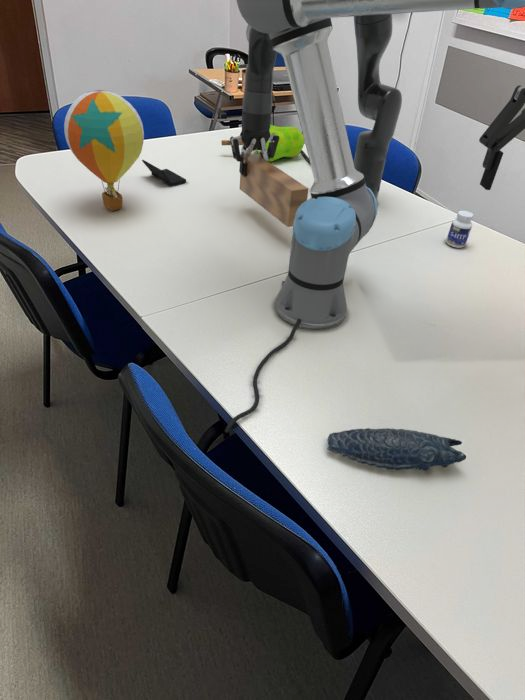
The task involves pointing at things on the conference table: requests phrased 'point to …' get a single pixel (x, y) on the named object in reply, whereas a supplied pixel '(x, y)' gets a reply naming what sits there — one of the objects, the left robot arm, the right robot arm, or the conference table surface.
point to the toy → (105, 138)
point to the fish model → (395, 448)
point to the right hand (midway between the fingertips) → (252, 174)
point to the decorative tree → (283, 142)
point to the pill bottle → (460, 229)
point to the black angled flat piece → (165, 175)
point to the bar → (273, 189)
